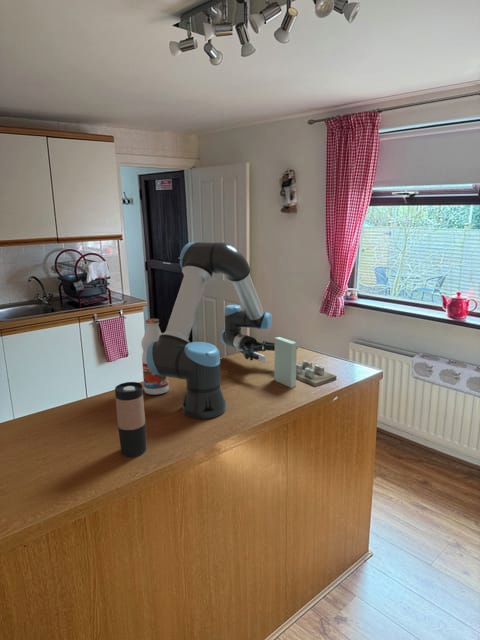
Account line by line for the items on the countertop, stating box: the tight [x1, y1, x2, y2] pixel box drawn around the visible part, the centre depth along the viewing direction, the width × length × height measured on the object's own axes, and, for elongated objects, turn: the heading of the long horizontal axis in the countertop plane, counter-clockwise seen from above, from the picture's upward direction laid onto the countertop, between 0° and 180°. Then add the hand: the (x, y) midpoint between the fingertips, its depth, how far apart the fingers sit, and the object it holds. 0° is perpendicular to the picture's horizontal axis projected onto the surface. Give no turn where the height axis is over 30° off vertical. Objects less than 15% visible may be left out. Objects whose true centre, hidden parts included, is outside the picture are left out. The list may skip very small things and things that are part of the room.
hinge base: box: [296, 360, 337, 387], centre depth 181 cm, size 20×12×4 cm, turn 36°
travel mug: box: [114, 381, 147, 458], centre depth 125 cm, size 8×8×20 cm
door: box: [273, 336, 299, 389], centre depth 173 cm, size 11×4×18 cm, turn 36°
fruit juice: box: [140, 318, 170, 396], centre depth 166 cm, size 9×9×28 cm
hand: (277, 356), depth 177 cm, fingers open, 13 cm apart
